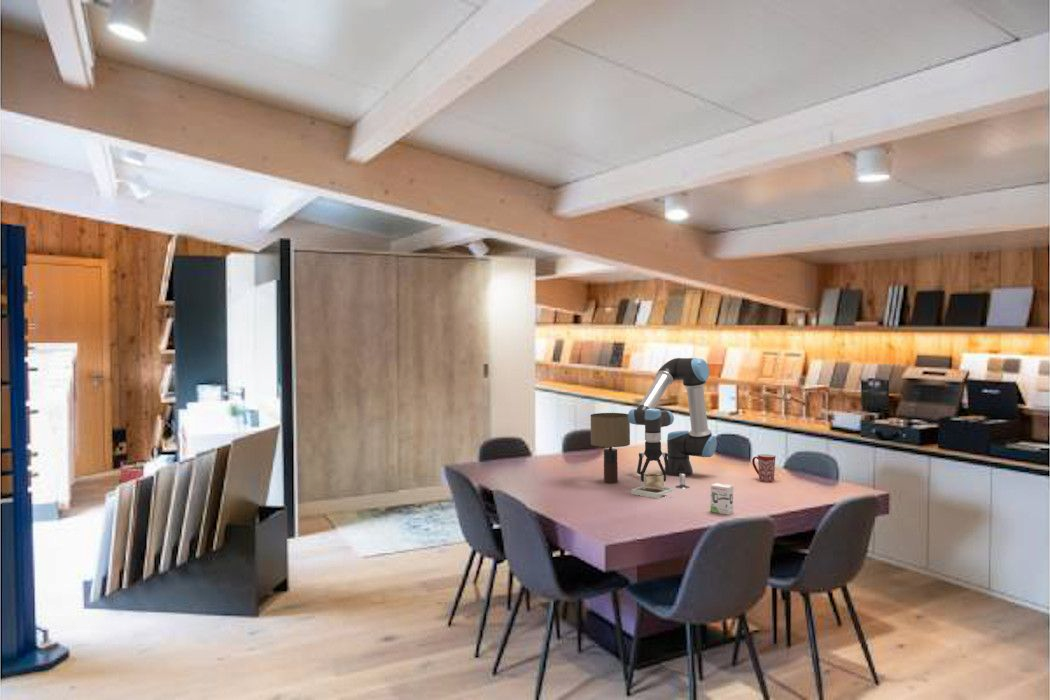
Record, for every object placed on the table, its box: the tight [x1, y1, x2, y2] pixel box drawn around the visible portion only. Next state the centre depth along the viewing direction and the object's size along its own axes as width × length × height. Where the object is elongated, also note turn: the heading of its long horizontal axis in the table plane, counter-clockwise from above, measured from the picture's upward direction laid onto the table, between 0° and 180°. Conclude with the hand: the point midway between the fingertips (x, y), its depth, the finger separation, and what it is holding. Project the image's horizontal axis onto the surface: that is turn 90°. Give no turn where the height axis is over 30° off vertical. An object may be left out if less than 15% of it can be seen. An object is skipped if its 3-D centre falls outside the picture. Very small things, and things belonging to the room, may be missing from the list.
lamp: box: [590, 412, 631, 484], centre depth 371 cm, size 20×20×35 cm
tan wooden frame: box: [644, 473, 663, 489], centre depth 344 cm, size 8×9×5 cm
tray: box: [630, 485, 677, 500], centre depth 344 cm, size 15×15×2 cm
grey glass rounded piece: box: [674, 473, 690, 490], centre depth 351 cm, size 7×7×8 cm
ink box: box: [710, 482, 734, 515], centre depth 307 cm, size 9×5×12 cm, turn 48°
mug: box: [751, 453, 777, 483], centre depth 371 cm, size 13×9×14 cm
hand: (653, 488), depth 344 cm, fingers closed on tan wooden frame, 8 cm apart
